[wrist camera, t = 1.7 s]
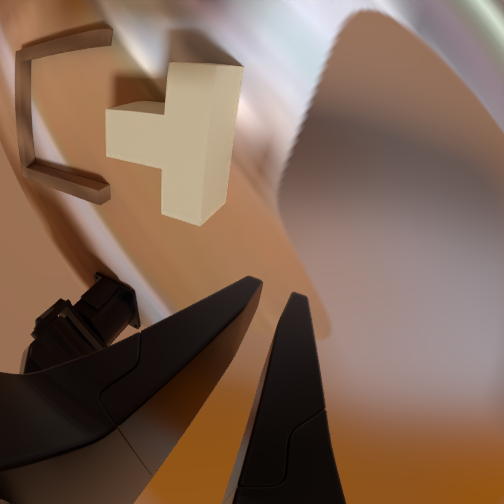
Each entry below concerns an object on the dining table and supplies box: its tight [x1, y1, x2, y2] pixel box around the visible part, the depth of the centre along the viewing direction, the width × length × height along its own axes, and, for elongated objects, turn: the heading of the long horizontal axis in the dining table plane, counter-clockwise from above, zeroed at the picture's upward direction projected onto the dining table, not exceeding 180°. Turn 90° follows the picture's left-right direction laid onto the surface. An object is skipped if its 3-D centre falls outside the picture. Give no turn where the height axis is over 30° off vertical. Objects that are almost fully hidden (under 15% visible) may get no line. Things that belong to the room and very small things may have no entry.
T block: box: [106, 62, 244, 226], centre depth 19 cm, size 10×8×4 cm
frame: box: [15, 29, 113, 205], centre depth 23 cm, size 16×16×2 cm
